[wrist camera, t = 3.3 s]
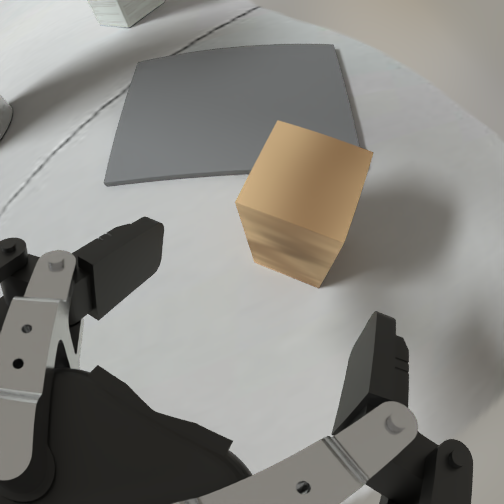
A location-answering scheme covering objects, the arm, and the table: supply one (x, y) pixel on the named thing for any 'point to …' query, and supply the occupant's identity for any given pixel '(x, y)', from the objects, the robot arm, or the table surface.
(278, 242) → the oak block
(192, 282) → the table surface
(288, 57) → the rubber mat
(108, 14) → the supplement box
